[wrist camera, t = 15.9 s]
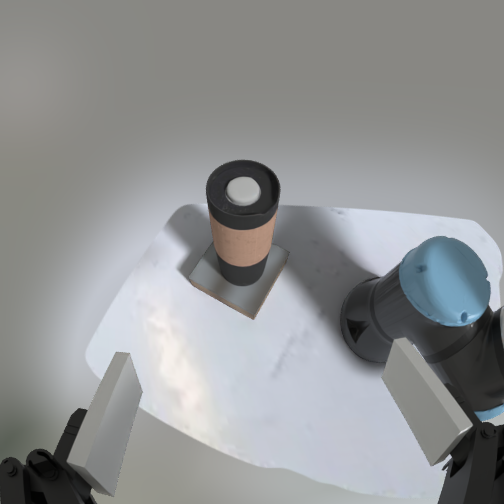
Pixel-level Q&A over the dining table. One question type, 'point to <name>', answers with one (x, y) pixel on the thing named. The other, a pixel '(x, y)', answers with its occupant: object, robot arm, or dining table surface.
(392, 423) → the dining table surface
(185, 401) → the dining table surface
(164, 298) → the dining table surface
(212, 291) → the walnut stand
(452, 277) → the robot arm
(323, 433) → the dining table surface
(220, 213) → the travel mug
